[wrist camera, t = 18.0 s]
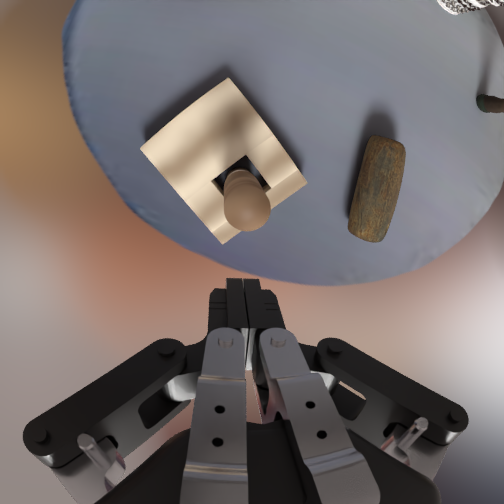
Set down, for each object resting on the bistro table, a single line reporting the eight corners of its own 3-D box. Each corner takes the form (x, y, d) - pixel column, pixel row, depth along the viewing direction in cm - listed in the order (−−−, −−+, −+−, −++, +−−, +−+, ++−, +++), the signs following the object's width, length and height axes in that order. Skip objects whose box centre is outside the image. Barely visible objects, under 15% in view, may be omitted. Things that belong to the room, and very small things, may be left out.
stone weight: (375, 231, 43) (396, 247, 37) (338, 227, 42) (356, 244, 36) (394, 142, 37) (420, 147, 31) (356, 131, 36) (379, 134, 30)
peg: (217, 177, 37) (214, 205, 25) (242, 158, 36) (252, 176, 24) (236, 200, 39) (242, 239, 26) (260, 182, 38) (279, 213, 25)
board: (146, 146, 34) (139, 148, 31) (228, 81, 32) (228, 77, 29) (222, 236, 41) (222, 244, 38) (301, 178, 38) (307, 183, 36)
